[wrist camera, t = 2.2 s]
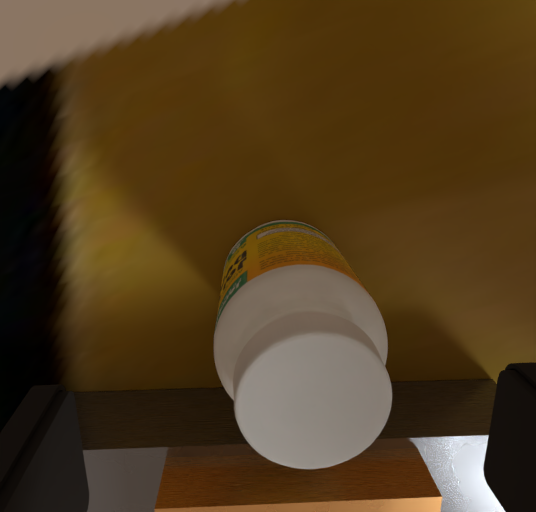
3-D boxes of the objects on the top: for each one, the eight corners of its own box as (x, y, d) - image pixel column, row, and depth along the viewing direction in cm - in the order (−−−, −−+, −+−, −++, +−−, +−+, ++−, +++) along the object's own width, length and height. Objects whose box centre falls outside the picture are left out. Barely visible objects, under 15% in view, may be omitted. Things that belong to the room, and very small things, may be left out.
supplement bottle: (334, 336, 22) (398, 500, 13) (217, 327, 22) (198, 490, 12) (353, 222, 20) (441, 316, 11) (227, 210, 20) (213, 298, 11)
